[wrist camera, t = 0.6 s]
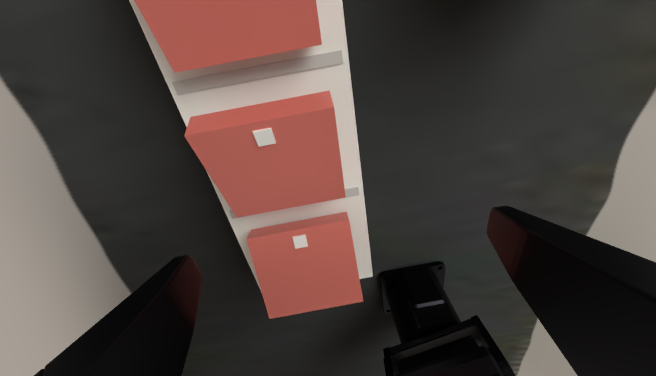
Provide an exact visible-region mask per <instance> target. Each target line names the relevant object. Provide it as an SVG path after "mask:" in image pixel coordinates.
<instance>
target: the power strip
mask: <svg viewBox="0 0 656 376" xmlns="http://www.w3.org/2000/svg"><path fill="white" fill-rule="evenodd" d="M129 1H130V3H131V6H132V8H133V10H134V12H135V14H136V17H137V19H138V21H139V23H140V25H141V28H142V30H143V32H144V34H145V36H146V39H147V41H148V43H149V45H150V47H151V50H152V52H153V54H154V56H155V58H156V61H157V63H158V65H159V67H160V70H161V72H162V74H163V76H164V78H165V81H166V83H167V85H168V87H169V89H170V92H171V94H172V96H173V98H174V100H175V103H176V105H177V107H178V109H179V111H180V114H181V116H182V118H183V120H184V122H185V125H186V127H187V126H188V123H189V120H190V117H193V116H198V115H203V114H208V113H214V112H219V111H224V110H229V109H235V108H240V107H245V106H250V105H256V104H261V103H266V102H271V101H277V100H282V99H287V98H293V97H298V96H303V95H308V94H314V93H319V92H324V91H329V90H330V94H331V98H332V101H333V105H334V110H335V118H336V125H337V133H338V141H339V149H340V157H341V165H342V172H343V180H344V188H345V196H346V197H345V198H340V199H335V200H330V201H324V202H319V203H314V204H308V205H303V206H298V207H292V208H287V209H282V210H276V211H271V212H266V213H260V214H255V215H250V216H244V217H239V218H237V217H236V216H235V214H234V212H233V211H232V209H231V208H230V206H229V205H228V203H227V202H226V200H225V198H224V197H223V195H222V194H221V192H220V191H219V189H218V188H217V186H216V184H215V183H214V181H213V180H212V178H211V177H210V175H209V174H208V175H209V178H210V180H211V182H212V184H213V186H214V189H215V191H216V193H217V195H218V197H219V200H220V202H221V204H222V206H223V209H224V211H225V213H226V215H227V217H228V220H229V222H230V224H231V226H232V228H233V231H234V233H235V235H236V237H237V239H238V242H239V244H240V246H241V248H242V250H243V253H244V255H245V257H246V259H247V261H248V264H249V266H250V268H251V270H252V273H253V275H254V277H255V279H256V281H257V284H258V286H259V288H260V285H259V281H258V278H257V274H256V271H255V268H254V264H253V261H252V257H251V254H250V250H249V247H248V244H247V240H246V239H247V237H248V235H249V233H250V231H251V229H257V228H262V227H267V226H273V225H278V224H283V223H289V222H294V221H299V220H305V219H310V218H315V217H321V216H326V215H331V214H337V213H342V212H347V214H348V218H349V222H350V227H351V233H352V239H353V245H354V251H355V256H356V262H357V268H358V274H359V279H362V278H368V277H373V273H372V264H371V255H370V246H369V237H368V228H367V219H366V210H365V201H364V192H363V183H362V174H361V165H360V156H359V147H358V138H357V129H356V121H355V112H354V103H353V94H352V85H351V76H350V67H349V58H348V49H347V40H346V31H345V22H344V13H343V4H342V0H316V5H317V12H318V19H319V26H320V33H321V41H322V45H318V46H312V47H307V48H302V49H297V50H291V51H286V52H281V53H276V54H271V55H265V56H260V57H255V58H250V59H244V60H239V61H234V62H229V63H224V64H218V65H213V66H208V67H203V68H197V69H192V70H187V71H182V72H176V73H174V71H173V69H172V67H171V65H170V64H169V62H168V60H167V58H166V57H165V55H164V53H163V51H162V49H161V48H160V46H159V44H158V42H157V40H156V39H155V37H154V35H153V33H152V31H151V30H150V28H149V26H148V24H147V22H146V21H145V19H144V17H143V15H142V14H141V12H140V10H139V8H138V6H137V5H136V3H135V1H134V0H129ZM207 173H208V172H207ZM260 290H261V288H260Z"/></svg>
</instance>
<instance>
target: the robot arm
mask: <svg viewBox="0 0 656 376" xmlns="http://www.w3.org/2000/svg"><path fill="white" fill-rule="evenodd" d="M487 235H488V238H489V239H490V241H491V243H492V245H493V247H494V249H495V250H496V252H497V254H498V256H499V258H500V260H501V261H502V263H503V265H504V267H505V269H506V270H507V272H508V274H509V276H510V277H511V279H512V281H513V282H514V284H515V285H516V287H517V289H518V290H519V291H520V293H521V294H522V296H523V297H524V299H525V300H526V302H527V303H528V304H529V306H530V307H531V309H532V310H533V312H534V313H535V315H536V316H537V317H538V319H539V320H540V322H541V323H542V325H543V326H544V328H545V329H546V330H547V332H548V333H549V335H550V336H551V338H552V339H553V341H554V342H555V343H556V345H557V346H558V348H559V349H560V351H561V352H562V354H563V355H564V357H565V358H566V359H567V361H568V362H569V364H570V365H571V366H572V368H573V369H574V371H575V372H576V374H577V375H578V376H656V262H653V261H651V260H648V259H645V258H643V257H640V256H637V255H635V254H632V253H630V252H627V251H624V250H622V249H619V248H616V247H614V246H611V245H609V244H606V243H603V242H601V241H598V240H595V239H593V238H590V237H588V236H585V235H583V234H580V233H577V232H575V231H572V230H569V229H567V228H564V227H562V226H559V225H556V224H554V223H551V222H549V221H546V220H543V219H541V218H538V217H536V216H533V215H530V214H528V213H525V212H522V211H520V210H517V209H515V208H512V207H509V206H500V207H494V208H492V210H491V211H490V215H489V220H488V225H487ZM444 275H445V265H444V263H443V262H434V263H429V264H424V265H418V266H413V267H407V268H402V269H397V270H391V271H386V272H383V273H381V274H380V281H381V292H382V303H383V310H384V313H385V314H390V313H392V316H393V319H394V322H395V325H396V329H397V332H398V335H399V338H400V341H401V344H399V345H396V346H394V347H391V348H389V347H388V348H385V349H383V351H384V357H385V358H384V365H385V372H386V376H515V374H514V372H513V371H512V369H511V367H510V365H509V364H508V362H507V360H506V359H505V357H504V356H503V354H502V353H501V351H500V350H499V348H498V346H497V345H496V343H495V342H494V340H493V339H492V337H491V336H490V334H489V333H488V331H487V330H486V328H485V327H484V325H483V324H482V322H481V321H480V319H479V318H478V316H477V315H476V316H473V317H471V319H468V320H466V321H463V322H461V321H460V319H459V317H458V315H457V313H456V312H455V310H454V308H453V306H452V304H451V302H450V300H449V298H448V297H447V295H446V293H445V291H444V289H443V285H444ZM201 284H202V276H201V273H200V271H199V269H198V267H197V265H196V263H195V261H194V259H193V258H192V257H191V256H190V255H184V256H178V257H175V258H174V259H172V260H171V261H170V262H169V263H168V264H166V265H165V266H164V267H163V268H162V269H160V270H159V271H158V272H157V273H156V274H154V275H153V276H152V277H151V278H150V279H149V280H147V281H146V282H145V283H144V284H143V285H141V286H140V287H139V288H138V289H137V290H135V291H134V292H133V293H132V294H131V295H130V296H129V297H127V298H126V299H125V300H123V301H122V302H121V303H120V304H119V305H118V306H117V307H115V308H114V309H113V310H112V311H110V312H109V313H108V314H107V315H106V316H105V317H103V318H102V319H101V320H100V321H99V322H98V323H96V324H95V325H94V326H93V327H91V328H90V329H89V330H88V331H87V332H85V333H84V334H83V335H82V336H81V337H79V338H78V339H77V340H76V341H75V342H73V343H72V344H71V345H70V346H69V347H68V348H66V349H65V350H64V351H63V352H62V353H61V354H59V355H58V356H57V357H56V358H54V359H53V360H52V361H51V362H50V363H49V364H47V365H46V366H45V369H42V370H40V371H39V372H38V373H37V374H35V375H34V376H181V375H182V372H183V368H184V364H185V361H186V357H187V354H188V350H189V346H190V343H191V339H192V335H193V331H194V326H195V320H196V314H197V308H198V302H199V296H200V290H201Z"/></svg>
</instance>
